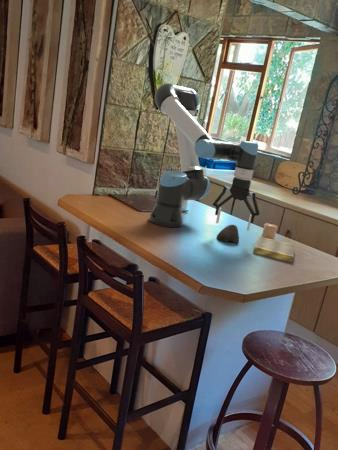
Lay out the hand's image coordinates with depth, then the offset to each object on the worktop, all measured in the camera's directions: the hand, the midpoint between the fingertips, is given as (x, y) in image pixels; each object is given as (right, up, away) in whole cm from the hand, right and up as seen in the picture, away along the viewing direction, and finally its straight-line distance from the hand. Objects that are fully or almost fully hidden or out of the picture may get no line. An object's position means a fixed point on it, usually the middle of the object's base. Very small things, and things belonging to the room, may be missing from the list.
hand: (232, 226), depth 192 cm
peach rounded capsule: (+18, -6, +14) cm, 24 cm away
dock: (+17, -11, -3) cm, 21 cm away
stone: (-2, -6, +2) cm, 7 cm away
